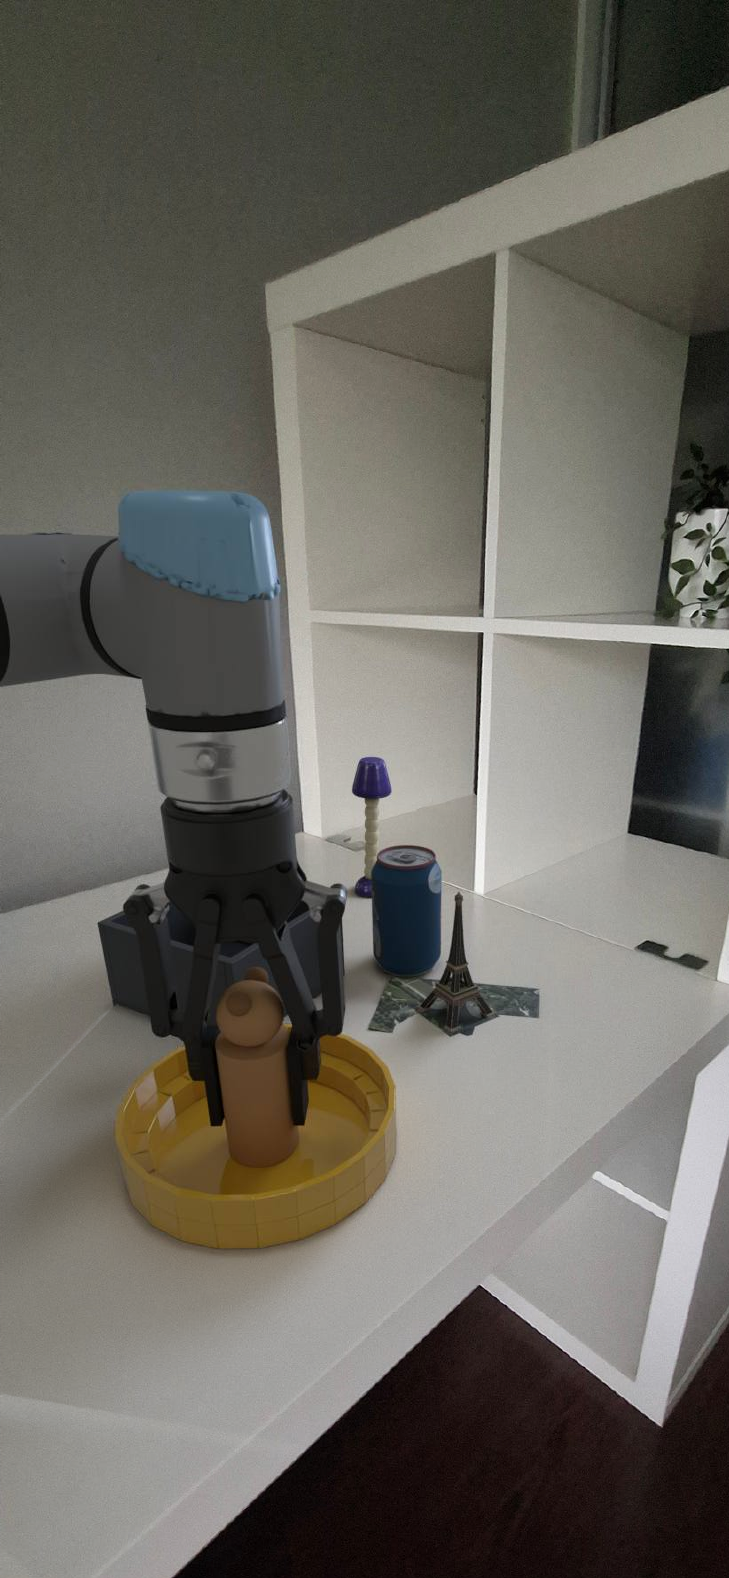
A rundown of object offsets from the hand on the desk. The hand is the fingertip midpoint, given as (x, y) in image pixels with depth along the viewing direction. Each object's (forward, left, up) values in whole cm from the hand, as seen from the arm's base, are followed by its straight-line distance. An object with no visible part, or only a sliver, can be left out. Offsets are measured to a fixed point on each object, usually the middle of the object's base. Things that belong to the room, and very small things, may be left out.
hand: (260, 1112), depth 56 cm
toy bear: (0, 0, -3) cm, 3 cm away
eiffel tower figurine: (+4, +23, -3) cm, 24 cm away
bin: (-17, +16, -3) cm, 24 cm away
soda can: (-5, +29, -3) cm, 30 cm away
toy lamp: (-18, +43, -3) cm, 47 cm away
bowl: (0, 0, -3) cm, 3 cm away
